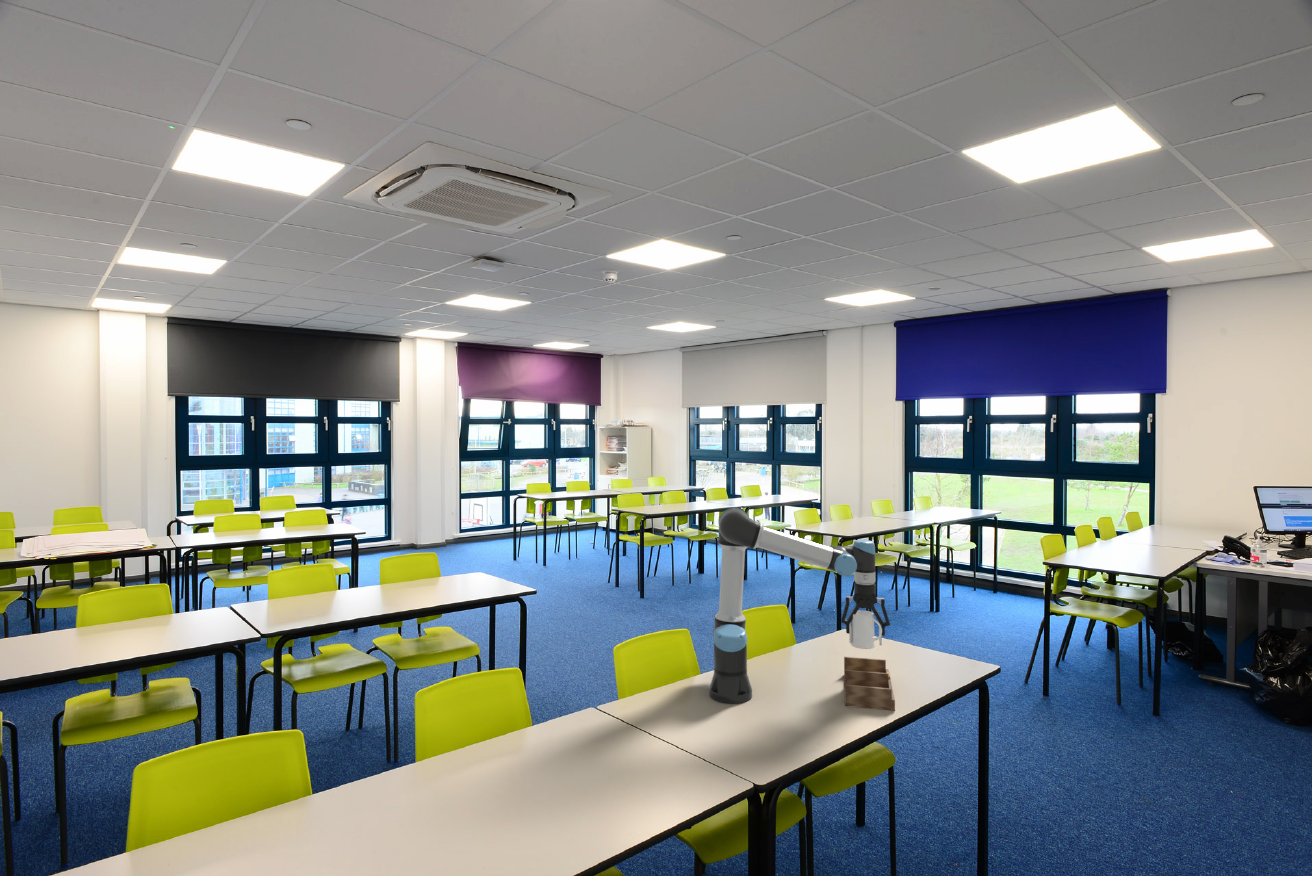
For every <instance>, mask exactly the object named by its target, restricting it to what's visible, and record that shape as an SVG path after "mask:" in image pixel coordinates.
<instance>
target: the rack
mask: <svg viewBox="0 0 1312 876" xmlns="http://www.w3.org/2000/svg"><path fill="white" fill-rule="evenodd" d="M843 659H844V661H843V667H844V669H843V670H844V671H843V672H844V673H843V674H844V681H843V682H844V706H845V707H851V708H860V709H861V708H862V709H863V708H864V709H872V710H875V709H876V710H881V711H882V710H883V711H896V699H895V698H896V697H895V694H894V690H893V685H892V681H891V672H890V670H889V669H888V668H887V667H886V666H887V665H886V663H887V662H886V661H887V660H886V659H882V658H881V659H879V658H878V659H877V658H868V657H867V658H866V657H856V656H855V657H852V656H844V657H843Z"/></svg>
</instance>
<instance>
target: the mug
mask: <svg viewBox="0 0 1312 876" xmlns="http://www.w3.org/2000/svg"><path fill="white" fill-rule="evenodd" d="M875 623H876V624H877V626H878V629H879V628H880V635H879V634H878V636H876V637H875ZM850 624H851V625H852V643H850V646H852V647H853V648H855V649H859V650H872V649H874V648H875V647H876V644H875V641H877V640H878V641H879V638H880V637H881V635H882V628H881V625H880V623H879V621H878V619H875V614H874V613H873V611H869V610H862V609H861V610H860V609H859V610H858V611H857V613H856V614H853V619H852V621H851V623H850Z"/></svg>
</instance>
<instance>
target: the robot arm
mask: <svg viewBox="0 0 1312 876" xmlns="http://www.w3.org/2000/svg"><path fill="white" fill-rule="evenodd" d="M717 543H718V545H719V546H720V547H721V562H720V563H721V564H720V583H719V586H720V587H719V602H718V604H719V605H718V611H717V613H716V614H715V615H714V625H713V627H714V628H713V632H712V635H713V637H712V638H713V639H712V641H713V676H712V679H711V680H710V681H711V682H710V685H709V692H708V693H709V697H710V698H711V699H713V700H714V701H716V702H719V703H724V704H726V703H727V704H740V703H744V702H747V701H749V700H751V699H752V697H753V688H752V685H751V682H750V679H749V675H748V650H747V649H748V647H747V646H748V644H747V643H748V636H747V632H746V621H747V618H746V616H745V615H744V614H743V601H744V599H743V598H744V594H743V593H744V576H745V559H746V558H745V555H746V549H748V548H749V549H752V550H753V549H754V550H755V549H756V548H760V549H763V550H766V551H769V552H772V553H775V554H778V555H782V556H785V557H787V558H791V559H793V560H798V561H801V562H803V563H807V564H810V565H813V566H817V567H820V568H823V569H826V570H829V571H831V572H835V573H837V574H838V575H840V576H842V577H850V576H852V575H853V580H854V583H853V586H854V588H853V591H854V592H853V596H849V595H846V596H845V605H844V607H843V612H842V615H841V619H840V623H841V624H845V633H846V634H849V640H848V641H849V644H851V643H852V625H851V621H852V619H853V614H856V613H857V611H858V610H860V609H871V612H872V613H874V617H876V620H877V621H878V622H879V624H880V625H881V628H882V635H881V637H880V638H879V639H878V645H879V646H883V641H882V637H885V635H886V630H885V629H886V627H890V625H891V622H890V620H889V617H888V616H889V615H888V612H887V611H886V610H887V609H886V607H885V606H886V605H885V602H886V600H885V598H884V597H877V595H876V593H877V592H876V546H875V543H874V541H872V540H869V539H859V540H858V539H857V540H856V539H855V540H854V541H853V545H850V546H849V545H847V546H845V545H842V546H841V545H836V546H835V545H829V546H827V545H823V544H821V543H820V544H819V543H816V542H814V541H811V540H808V539H804V538H800V537H798V536H795V535H791V534H788V533H785V532H783V531H782V532H781V531H778V530H776V529H772V528H769V527H765V526H764V524H763V523H762V522H760V521H758V520H757V521H756V520H754V519H752V518H750V516H749V514H748V513H747V512H746V511H745V510H743V509H741V508H738V507H730V508H728V509H726V510H724V511H722V513H721V514H720V516H719V519H718V541H717ZM852 601H854V603H855V606H854V607H853V609H852V611H851V612H850V614H849V616H848V617H847V614H848V610H849V607H850V604H851V603H852ZM877 602H878V605H880V607H881V612H882V613H883V618H884V620H885V621H884V620H883V619H882V617H881V615H880V613H879V612H878V611H877V608H876V606H875V604H876V603H877ZM846 617H847V619H846ZM879 635H880V628H879V627H878V636H879Z"/></svg>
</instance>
